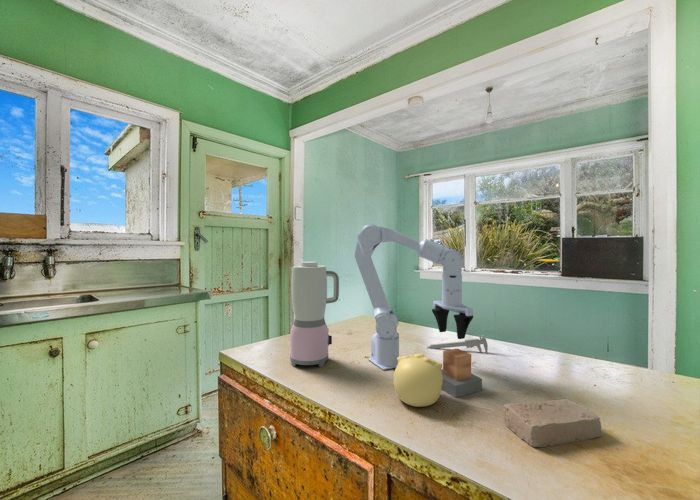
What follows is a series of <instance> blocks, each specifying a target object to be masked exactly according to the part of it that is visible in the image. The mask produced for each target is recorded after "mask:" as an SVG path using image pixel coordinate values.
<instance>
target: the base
mask: <svg viewBox="0 0 700 500" xmlns="http://www.w3.org/2000/svg"><path fill="white" fill-rule="evenodd" d="M441 370H442V377H443V383H442V389H441V391H442V390H443V391H444V392H446V393H447V394H449V396H453V397H454V398H456V399H457V398H459V397H463V396H466V395H470V394H473V393H478V392H480V391H483V378H482V377H480V376H478V375H476V374H473V373H471V377H470V378H465V379H461V380H457V381H456V380H454V379H453V378H451V377H449V376H447V375H445V374H444V373H443V368H441Z"/></svg>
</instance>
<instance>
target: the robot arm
mask: <svg viewBox="0 0 700 500" xmlns="http://www.w3.org/2000/svg"><path fill="white" fill-rule="evenodd" d="M391 242H392V243H396V244H398V245H401V246H403V247H406V248H409V249H411V250H414V251H416V252H417V253H416V254H417V255H418V257H420V258H422V259H425V260H427V261H430V262H432V263H434V264H437V265H440V264H442V274H441V300H433V301H432V307H433V308H432V309H431V312H432V314H433V315H434V318H435V320H436V323H437V328H438V332H439V333H445V332H447V326H448V317H449V313H450V312H454V313H456V314H453V318H454V321H455V325H456V337H457V339H458V340H463V339H464V340H465V337H466V335H467V331H468V328H469V326H470V324H471V322H472V320H474V308H473V307H472V308H471V307H469V306H466V305H464V303H463V274H462V272H463V271H462V266H463V264H464V262H465V260H464V257H463V255H462V254H461V252H460V251H458V250H455V249H453V248H450V245H445V246H444V245H442V244H440V243H437V242H435V240H434V239H433V238H430V239H428V238H424V239H423V240H417V239H416V238H413V237H411V236H408V235H406V234H405V233H404V234H403V233H401V232H399V231H396V230H394V229H392V228H387V227H383V226H378V225H375V224H374V223H373V224H372V223H371V224H370V223H369V224H366V225H364V226H362V228H361V229H360V231H359V233H358V234H357V238H356V246H355V250H354V258H355V261H356V264H357V267H358V269H359V272H360V276H361V278H362V280H363V283H364V286H365V288H366V291H367V294H368V297H369V301H370V303H371V306H372V308H373V315H374V319H375V331H376V332H375V333H373V335H371V339H370V357H369V358H368V361H369V362H371V363H372V364H374V365H376V367H377V368H378V367H379V368H380V369H381V370H382V371H386V370H390V369H394V368H395V369H396V367H397V365H398V361H397V358H398V357H400V333H399V332H398V331H397V328H398V327H399V317H398V315H397V314H396V313H395V312H394V311H393V310H392V307H391V305H390V304H389V301H388V299H387V297H386V294H385V291H384V289H383V286H382V282H381V280H380V277H379V275H378V272H377V270H376V267H375V264H374V262H373V258H372V256H373V254H374V252H375V250H376V248H377V247H378V246H379V245H380V244H381V243H391Z"/></svg>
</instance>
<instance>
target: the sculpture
mask: <svg viewBox="0 0 700 500" xmlns="http://www.w3.org/2000/svg"><path fill="white" fill-rule="evenodd" d="M397 361H398V365H397V367H396V368H395V369H394V373H393V378H392V380H393V381H392V382H393V387H394V392H395V394H396V396H397V397H398V399H400V401H402V402H403V403H404V404H406V405H409V406H411V407H416V408H419V407H420V408H421V407H422V408H423V407H428V406H431V405H433V404H435V403H436V402H437V401H438V399H439V398H440V396H441V393H442V383H443V377H442V369H443V363H441V362H439V361H437V360H435V359H432V358H429V357H428V356H427V355H425V354H423V353H418V352H417V353H414V354H410V355H408V354H407V355H403V356H399V357H398V358H397Z"/></svg>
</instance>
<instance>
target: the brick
mask: <svg viewBox="0 0 700 500" xmlns="http://www.w3.org/2000/svg"><path fill="white" fill-rule="evenodd" d="M502 415H503V422H504V424H506V426H507V428H508V429H509V430H510V431H512V432H513V433H515V434H516V435H517V436H518V437H519V439H521V440H523V441H524V442H526V443H527V444H528V445H529V446H531V447H534V448H543V447H544V448H546V447H547V446H550V447H553V446H556V445H563V444H567V443H569V444H570V443H573V442H579V441H583V440H584V441H585V440H591V439H594V438H595V439H596V438H600V437H602V434H603V433H602V422H601V421H600V420H601V417H600V416H598V415H597V414H596V413H594V412H593V411H592V410H590V409H588V408H586V407H584V406H583V405H580V404H578V403H576V402H574V401H572V400H570V399H568V398H566V399H565V398H562V399H556V400H555V399H551V400H547V401H542V402H540V403H537V402H527V403H521V402H519V403H505V404H504V405H503V411H502Z"/></svg>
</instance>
